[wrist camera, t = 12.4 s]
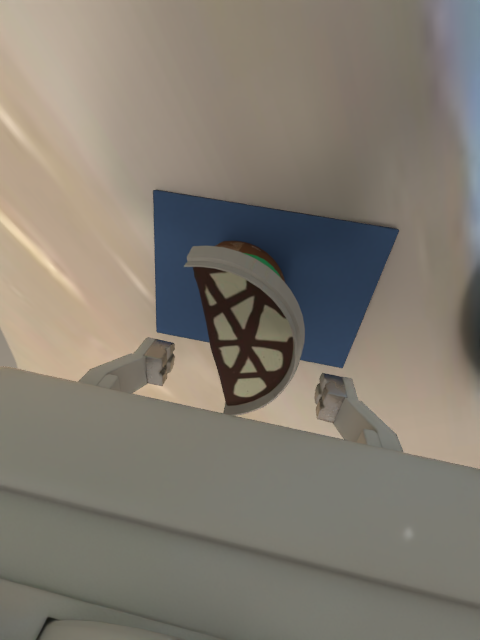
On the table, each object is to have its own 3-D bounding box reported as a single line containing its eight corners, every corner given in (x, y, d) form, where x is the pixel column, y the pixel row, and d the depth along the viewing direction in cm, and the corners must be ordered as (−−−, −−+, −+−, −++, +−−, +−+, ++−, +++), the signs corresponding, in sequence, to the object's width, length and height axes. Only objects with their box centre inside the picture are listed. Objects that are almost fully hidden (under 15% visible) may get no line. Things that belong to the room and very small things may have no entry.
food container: (302, 342, 27) (311, 422, 19) (242, 345, 29) (224, 422, 20) (294, 212, 22) (301, 240, 13) (220, 223, 23) (181, 255, 14)
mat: (396, 228, 22) (399, 230, 21) (341, 364, 29) (342, 368, 28) (155, 189, 23) (152, 190, 22) (158, 329, 30) (156, 332, 29)
